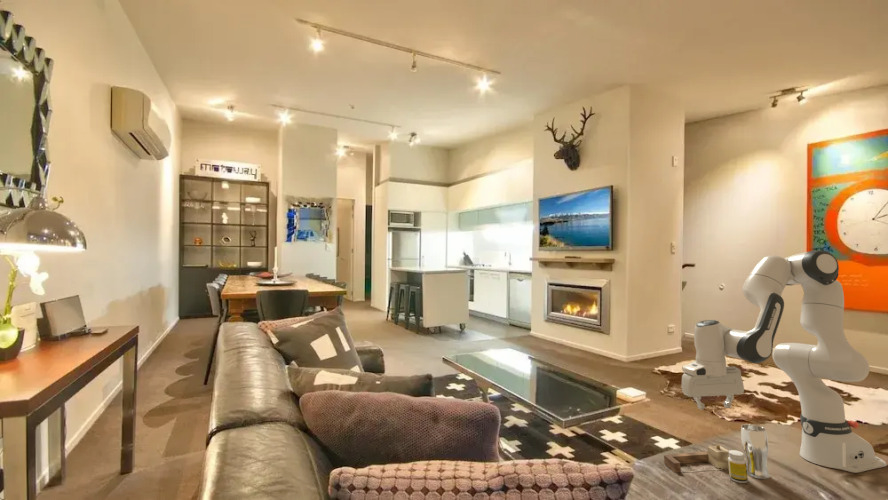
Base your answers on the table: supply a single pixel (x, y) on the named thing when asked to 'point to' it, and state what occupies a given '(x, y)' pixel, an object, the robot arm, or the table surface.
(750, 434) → the beer glass
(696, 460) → the fence board
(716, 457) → the block
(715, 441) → the table surface
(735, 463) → the supplement bottle
